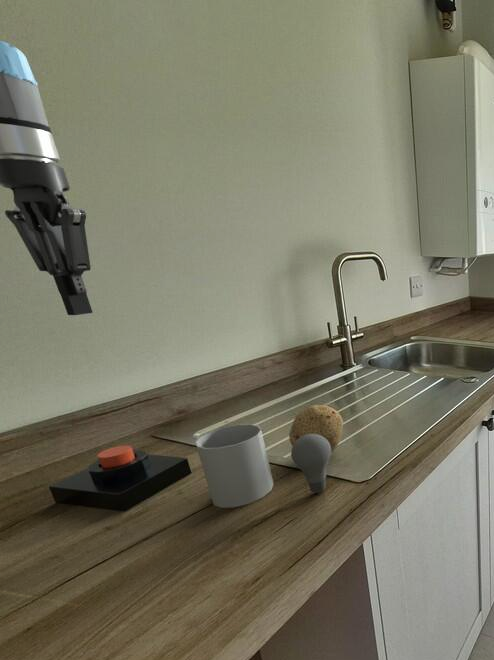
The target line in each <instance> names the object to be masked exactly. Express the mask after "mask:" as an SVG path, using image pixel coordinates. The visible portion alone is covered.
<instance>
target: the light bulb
mask: <svg viewBox="0 0 494 660" xmlns="http://www.w3.org/2000/svg"><path fill="white" fill-rule="evenodd" d="M290 451H291V452H290V456H291V457H290V458H291V460H292V462H293V463H294V464H295V466H296V467H297V468H298V469H299V470H301V471H302V473H303V475H304V478H305V480H306V482H307V483H308V486H309V490H310V492H311V493H314V494H321V493H322V492H323V491H325V490H326V488H327V482H326V478H327V466H328V463H329V461H330V458H331V455H332V453H331V446H330V443H329V442H328V440H327V439H325V438H324V437H323V436H321V435H317V434H308V435H304V436H302V437H300V438H299V439H298V440H297V441H296V442H295V443H294V445H292V447H291V449H290Z"/></svg>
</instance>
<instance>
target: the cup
mask: <svg viewBox="0 0 494 660" xmlns="http://www.w3.org/2000/svg"><path fill="white" fill-rule="evenodd" d="M265 445H266V443H265V440H264V435H263V431H262V428H261V427H260V426H259V425H256V424H251V423H248V424H247V423H244V424H234V425H229V426H224V427H220V428H217V429H214V430H211V431H208V432H207V433H205V434H203V435H200V437H198V438H197V439H196V440H195V446H196V450H197V453H198V457H199V461H200V464H201V467H202V470H203V475H204V477H205V482H206V484H207V487H208V491H209V494H210V498H211V501H212V504H213V506H216V507H218V508H221V509H227V508H229V509H230V508H238V507H242V506H246V505H249V504H252V503H254V502H256V501H258V500H260V499H262V498H264V497H265V496H267V495H268V494H269V493H270V492H272V489H273V488H274V485H275V484H274V480H273V475H272V471H271V467H270V462H269V458H268V452H267V449H266V446H265Z"/></svg>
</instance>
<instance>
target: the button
mask: <svg viewBox="0 0 494 660" xmlns="http://www.w3.org/2000/svg"><path fill="white" fill-rule="evenodd" d="M133 450H134V449H133V447H132V446H131V445H118V446H114V447H110V448H108V449H105V450H103V451H101V452H99V453H98V454H97V460H99V462H100V464H101V467H102V468H109V467H116V466H119V465H123V464H126V463H128V462H130V461H132V460H134V459H135V456H134V453H133Z"/></svg>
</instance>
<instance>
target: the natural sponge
mask: <svg viewBox="0 0 494 660" xmlns="http://www.w3.org/2000/svg"><path fill="white" fill-rule="evenodd" d="M343 426H344V421H343V418H342V416H341V414H340V413H339V412H338V411H337V410H335V409H334V408H332V407H330V406H328V405H321V404H314V405H309V406H307V407H305V408H303V409H302V410H301V411H299V412H298V413H297V415H296V416H295V417H294V420H293V422H292V425H291V427H290V430H289V433H288V434H289V435H288V438H289V442H290V444H291V446H293V445H294V443H295V442H296V441H297V440H298V439H299V438H300V437H302V436H304V435H308V434H317V435H321V436H323V437H324V438H325V439H327V440H328V442H329V443H330V446H331V454H332V453H333V452H334V451H335V450H336V448H337V447H338V446H339V444H340V441H341V439H342V435H343V428H344V427H343Z"/></svg>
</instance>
